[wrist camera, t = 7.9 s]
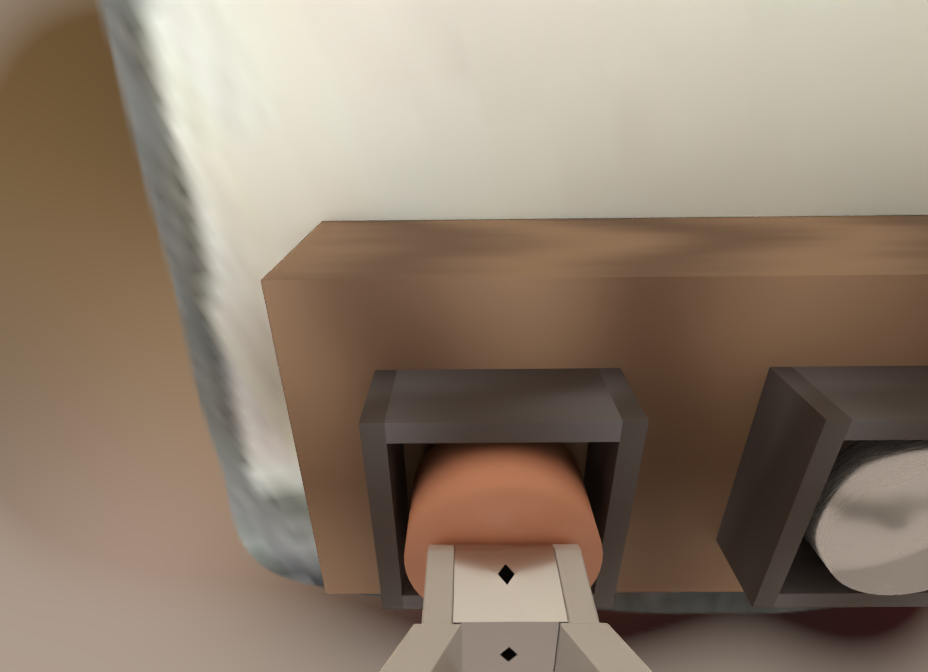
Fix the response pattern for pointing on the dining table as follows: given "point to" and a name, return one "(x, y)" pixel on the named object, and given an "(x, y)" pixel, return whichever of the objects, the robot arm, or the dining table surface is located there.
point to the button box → (606, 381)
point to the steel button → (875, 517)
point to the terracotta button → (499, 502)
